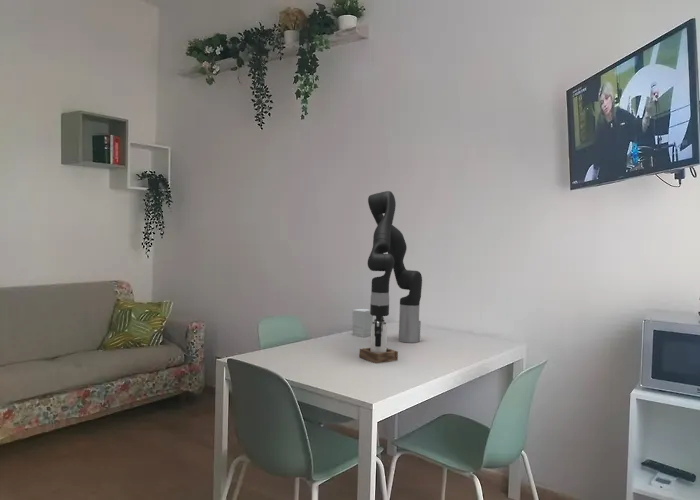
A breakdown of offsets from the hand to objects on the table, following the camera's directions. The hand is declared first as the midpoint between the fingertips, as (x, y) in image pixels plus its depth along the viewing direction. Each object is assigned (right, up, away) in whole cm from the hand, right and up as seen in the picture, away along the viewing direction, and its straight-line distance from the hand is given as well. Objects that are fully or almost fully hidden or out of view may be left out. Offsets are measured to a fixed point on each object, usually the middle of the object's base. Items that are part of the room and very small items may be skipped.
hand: (378, 344), depth 225 cm
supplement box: (-6, -4, +49) cm, 49 cm away
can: (0, -3, 0) cm, 3 cm away
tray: (0, -6, 0) cm, 6 cm away
